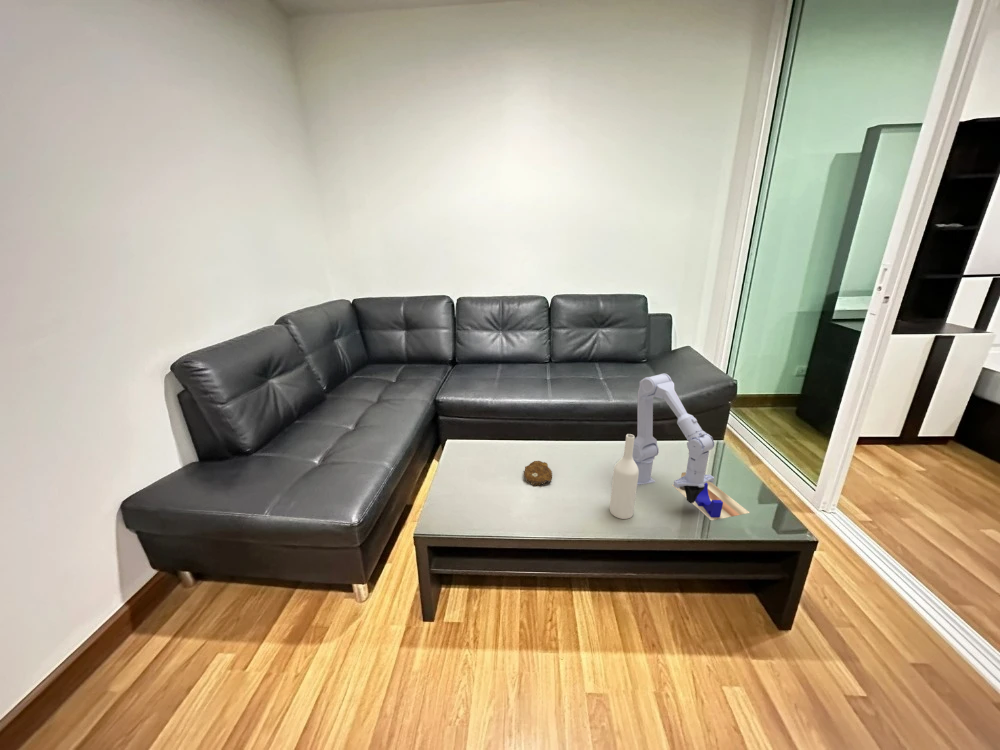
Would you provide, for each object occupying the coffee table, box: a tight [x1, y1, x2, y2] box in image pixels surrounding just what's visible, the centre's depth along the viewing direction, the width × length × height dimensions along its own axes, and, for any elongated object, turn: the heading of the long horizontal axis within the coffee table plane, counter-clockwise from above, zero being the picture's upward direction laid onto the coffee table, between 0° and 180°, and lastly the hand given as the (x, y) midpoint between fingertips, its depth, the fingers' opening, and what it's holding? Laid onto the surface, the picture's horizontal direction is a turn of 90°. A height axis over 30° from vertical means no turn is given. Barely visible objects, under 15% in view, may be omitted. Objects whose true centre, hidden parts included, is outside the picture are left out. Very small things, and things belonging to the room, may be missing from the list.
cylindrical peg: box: [680, 471, 686, 490], centre depth 149 cm, size 3×3×6 cm
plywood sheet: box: [671, 482, 751, 521], centre depth 144 cm, size 16×21×1 cm
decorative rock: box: [523, 460, 553, 487], centre depth 158 cm, size 11×4×15 cm
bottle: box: [609, 433, 639, 520], centre depth 133 cm, size 8×8×30 cm
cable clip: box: [695, 483, 723, 517], centre depth 139 cm, size 12×4×6 cm, turn 179°
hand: (690, 501), depth 137 cm, fingers closed
